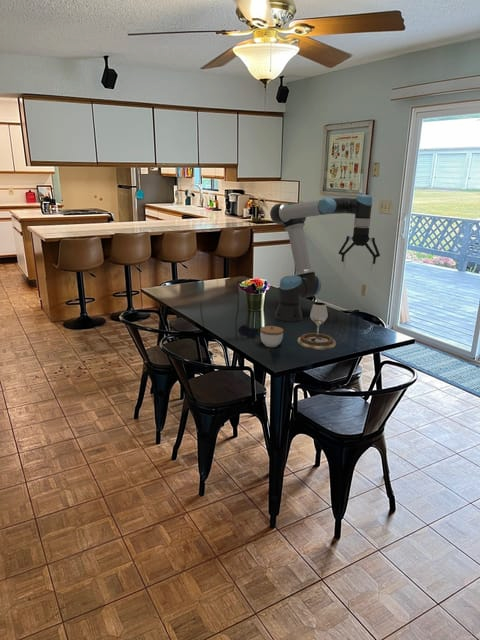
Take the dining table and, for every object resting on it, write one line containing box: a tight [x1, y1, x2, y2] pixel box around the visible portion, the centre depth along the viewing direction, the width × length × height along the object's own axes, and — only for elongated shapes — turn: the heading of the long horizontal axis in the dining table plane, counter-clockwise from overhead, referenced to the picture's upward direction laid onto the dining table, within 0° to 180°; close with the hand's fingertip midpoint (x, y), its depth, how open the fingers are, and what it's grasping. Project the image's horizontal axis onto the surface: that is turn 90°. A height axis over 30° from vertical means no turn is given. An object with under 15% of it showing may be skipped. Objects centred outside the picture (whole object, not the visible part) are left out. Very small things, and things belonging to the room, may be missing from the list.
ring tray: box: [297, 332, 337, 351], centre depth 227 cm, size 18×18×3 cm
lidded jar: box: [259, 325, 284, 348], centre depth 222 cm, size 11×11×9 cm
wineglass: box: [309, 301, 328, 342], centre depth 225 cm, size 8×8×18 cm
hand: (357, 269), depth 243 cm, fingers open, 13 cm apart
